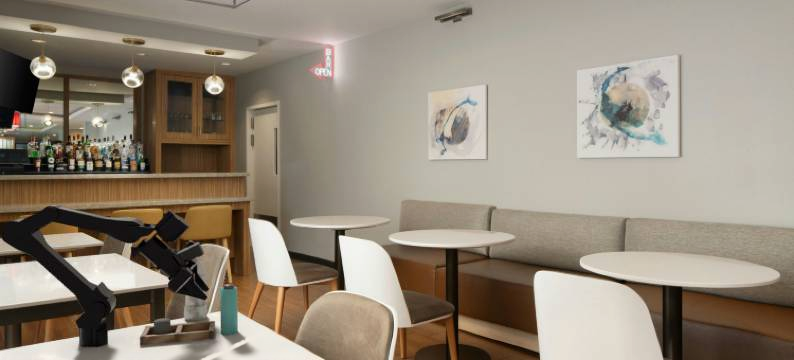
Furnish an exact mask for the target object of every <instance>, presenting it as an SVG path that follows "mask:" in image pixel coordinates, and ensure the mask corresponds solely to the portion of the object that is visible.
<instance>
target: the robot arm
mask: <svg viewBox="0 0 794 360" xmlns="http://www.w3.org/2000/svg"><path fill="white" fill-rule="evenodd" d="M53 223H55V224H62V225H65V226H69V227H75V228H79V229H84V230H89V231H93V232H99V233H102V234H105V235H107V236H108V237H111V238H112V239H114V240H118V241H121V242H123V243H125V244H134V243H136V242H139V240H140V239H142V238H143V237H145V238H143V239H142V240H141V241H140V242H139V243H138V244H137V245H132V246H131V247H130V250H131V258H132V259H133V258H135V257H136V256H137V255H138V254H139V253H140V255H142V256H143V257H144V258H145V259H146V260H148V261H149V262H150V263H151V264H153V266H155V270H157V271H160V272H162V273H163V274H164V275H166V277H167V279H168V282H167V289H168V290H169V291H170V292H172V293H173V294H175V293H176V294H181V295H183V296H186V295H187V296H191V297H194V298H198V299H202V300H205V301H206V300H207V299H208V295H207V294H206V293H207V292H209V290H210V288H209V286H208V285H207V283H206V281H205V282H204V281H203V279H202V278H201V276H200V275H199V274H198V264H196V262H197V261H195V260H194V258H196V257H200V256H201V257H202V256H203V255H204V254H205V251H204V249H203V247H202V244H200V241H197V242H195V241H194V240H190V241H187V242H186V247H184V248H183V249H181V250H178V249H176V248H171V247H170V246H168V245H167V244H169V243H171V242H172V243H176V242H177V241H178V240H179V239H180V238H181V237H182V236H183V235H184V234H186V232H187V231H188V229H190V228H191V225H190V224H189V223H188V222H187V221H186V219H184V218H183V217H181V216H179V215H177V214H176V213H174V212H173V211H172V210H168V211H167V212H166V213H165V214H164V216H163V217H162V218H161V219H160V220H159V221H158V222H157V223H146V222H143V220H141V219H140V218H135V217H134V218H133V217H111V216H109V217H108V216H104V215H101V214H100V215H99V214H96V213H90V212H86V211H82V210H77V209H72V208H68V207H63V206H61V205H59V204H52V205H48V206H45V207H44V208H42V209H41V210H39V211H37V212H36V213H33V214H31V215H29V216H27V217H25V218H24V217H23V218H22V217H21V218H18V219H15V220H11V221H8V222H7V223H5V224H4V225H3V226H1V230H0V238H1V240H2V241H3V242H4V243H6V244H7V245H9V246H10V247H12V248H13V249H15V250H17V251H19V252H21V253H24V254H27V256H28V255H29V256H30V257H31V258H33V259H34V260H35V261H36V262H37V263H38V264H39V265H41V266H42V267H43V268H44V269H45V270H46V271H47V272H48V273H49V274H51V275H52V276H53V277H54V278H55V279H56V280H57V281H58V282H60V284H61V285H63V286H64V287H66V289H67V290H69V292H70V293H72V294H73V295H74V296H75V297H76V301H78V304H79V306H80V307H81V309H82V310H83V312H82V313H81V314H80V316H78V317H77V318H76V319H75V324H76V326H77V328H78V338H79V340H78V341H79V342H78V344H79V345H80V346H81V347H82V348H100V347H103V346H106V345H108V344H109V329H108V322H106V320H105V319H106V318H107V317H108V316H109V315H110V313H111V312H112V311H113V310H114V309H115V307H116V305H117V304H116V303H117V298H116V296H115V295H114V292H115V291H114V290H112V289H110V288H109V287H108V286H107V285H106V284H105V283H104V281H101V282H99V284H96V283H93V282H91V281H89V280H88V279H87V277H85V276H84V275H83V274H82V273H81V272H80V271H78V269H76V268H75V267H74V266H73V265H72V264H71V263H70V262H68V261H67V260H66V259H65V258H64V257H63V256H62V255H61V254H60V253H58V252H57V251H56V250H55V249H54V248H53V247H52V246H50V244H49V243H48V242H47V240H46V238H45V236H44V234H43V232H42V231H41V229H43V228H45V227H47V226H48V225H50V224H53ZM153 232H155V233H154V234H153V235H152V236H151V237H150V238H146V237H148V236H150V235H151V234H152V233H153ZM160 238H161V239H160ZM166 243H167V244H166ZM195 264H196V265H195ZM193 265H195V266H194V267H192V266H193ZM203 291H205V292H206V293H204V292H203Z"/></svg>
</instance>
